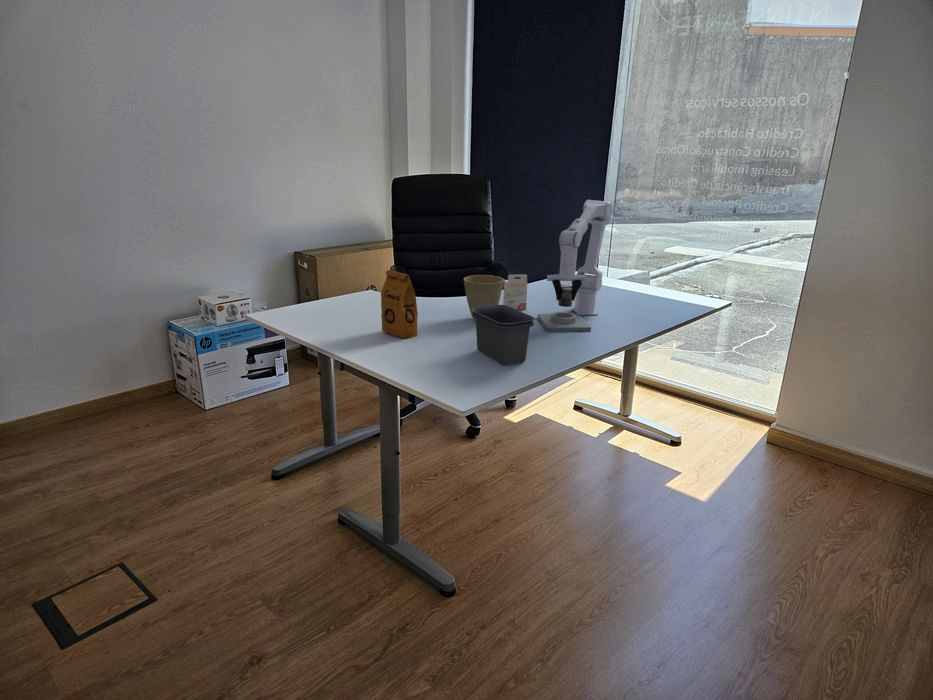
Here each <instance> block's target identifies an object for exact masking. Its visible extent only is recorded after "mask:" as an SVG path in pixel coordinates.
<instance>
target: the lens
mask: <svg viewBox="0 0 933 700" xmlns="http://www.w3.org/2000/svg"><path fill="white" fill-rule="evenodd" d="M573 288H574V287H573V286H572V285H568V284H561V289H560V300H559V301H558V303H557V305H558V306H559V307H565V308H569V307H572V306H573V301H572V298H573Z"/></svg>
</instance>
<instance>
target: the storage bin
mask: <svg viewBox="0 0 933 700" xmlns="http://www.w3.org/2000/svg"><path fill="white" fill-rule="evenodd" d="M471 311H473V313H472V315H471V317H472V316H473V317H475V318H476V321H475V332H476V333H475V334H476V349H477V351H478V352H479V353H481V352H482V353H481V354H483V355H485V356H487V357H488V356H489V358H490V359H492V360H494V361H496V362H497V363H499V364H500V365H503V366H505V365H506V366H507V365H513V364H514V365H515V364H517V363H523V362H525V361H526V359H527V352H528V345H529V337H530V331H531V327H532V328H533V327H534V326H535V325H534V324H535V323H534V321H535V320H536V318H535V317H534V316H532V315H530V314H528V313H525V312H523V311H522V310H516V309H514V308H511V307H509V306H506V305H503V304H498V305H488V306H480V307H473V308H471Z"/></svg>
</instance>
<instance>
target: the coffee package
mask: <svg viewBox="0 0 933 700" xmlns="http://www.w3.org/2000/svg"><path fill="white" fill-rule="evenodd" d="M385 275H386V278H385V280H384V283H383V285H382V289H381V292H380V299H381V300H380V308H381V309H380V310H381V317H380V318H381V331H382V332H385V333H387V334H390V335H392V336H394V337H397V338H401V339H403V340H404V339H408V338H411V337H416V336H418V318H419V315H418V304H417V297H416V294H415V289H414V287H413V284H412V280H411V277H410V276H409V274H406V273H402V272H401V271H400V272H399V271H395V270H389V269H388V270H386V271H385Z"/></svg>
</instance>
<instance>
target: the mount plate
mask: <svg viewBox="0 0 933 700" xmlns="http://www.w3.org/2000/svg"><path fill="white" fill-rule="evenodd" d="M537 319H538V320H539V321H541V322H540V323H541V325H542V326H543V327H544V329H545V328H546V329H545V330H546V331H547V332H548V331H553V332H591V331H592V327H591V326H590V324H589V323H588V322H587V321H586V320H584V318H583V317H582V315H579V314H577V313H571V312H568V311H567V312H566V311H557V312H553V313H537Z"/></svg>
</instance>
